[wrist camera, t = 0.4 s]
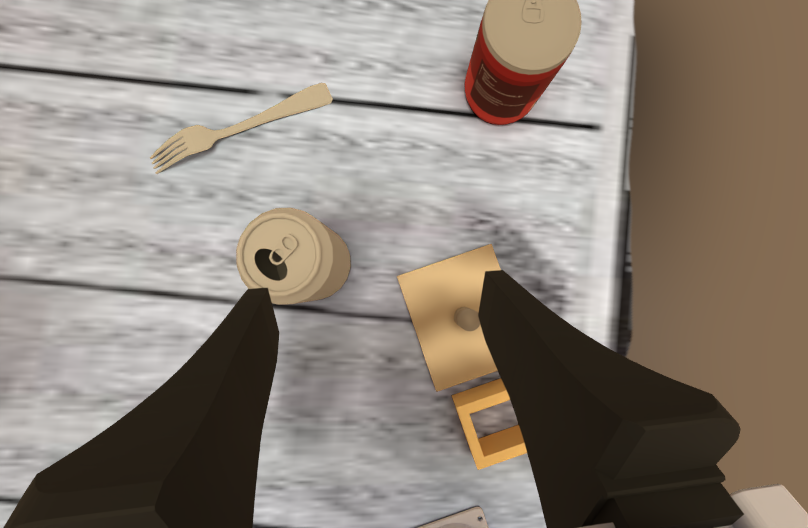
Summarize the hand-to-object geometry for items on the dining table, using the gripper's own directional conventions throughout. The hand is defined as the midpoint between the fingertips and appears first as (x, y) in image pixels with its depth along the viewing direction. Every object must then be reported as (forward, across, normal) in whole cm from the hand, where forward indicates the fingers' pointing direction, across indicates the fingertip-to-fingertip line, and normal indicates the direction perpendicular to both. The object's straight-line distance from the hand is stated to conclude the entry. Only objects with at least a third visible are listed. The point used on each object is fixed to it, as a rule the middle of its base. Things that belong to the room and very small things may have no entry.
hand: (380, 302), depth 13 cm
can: (+24, +5, +15) cm, 29 cm away
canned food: (+33, -15, +1) cm, 36 cm away
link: (+12, -12, +26) cm, 31 cm away
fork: (+34, +12, +4) cm, 36 cm away
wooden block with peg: (+18, -9, +19) cm, 28 cm away
